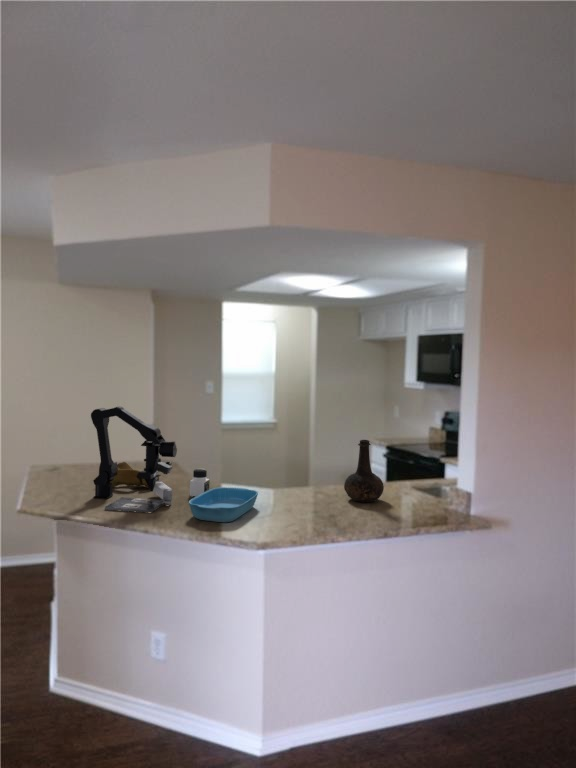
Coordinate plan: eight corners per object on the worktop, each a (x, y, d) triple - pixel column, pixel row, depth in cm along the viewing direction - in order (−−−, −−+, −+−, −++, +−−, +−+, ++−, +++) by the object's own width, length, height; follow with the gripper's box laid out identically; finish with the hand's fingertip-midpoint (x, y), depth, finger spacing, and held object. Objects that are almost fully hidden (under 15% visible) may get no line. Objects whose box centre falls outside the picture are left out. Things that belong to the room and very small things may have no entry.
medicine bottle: (204, 497, 250) (204, 471, 250) (189, 496, 251) (189, 470, 251) (209, 493, 257) (209, 468, 257) (194, 492, 258) (195, 467, 258)
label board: (104, 509, 226) (104, 504, 226) (121, 500, 242) (121, 495, 241) (159, 513, 223) (159, 508, 222) (173, 503, 238) (173, 498, 238)
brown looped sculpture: (129, 465, 281) (162, 463, 270) (126, 490, 277) (159, 489, 266) (101, 458, 266) (134, 456, 255) (97, 486, 262) (131, 484, 251)
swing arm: (173, 500, 235) (173, 490, 235) (164, 501, 233) (164, 491, 233) (160, 489, 252) (160, 480, 252) (151, 490, 250) (151, 481, 250)
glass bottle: (390, 500, 256) (392, 440, 254) (368, 507, 243) (371, 444, 241) (358, 493, 268) (360, 436, 266) (336, 499, 255) (338, 439, 253)
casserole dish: (216, 499, 249) (217, 483, 248) (263, 504, 243) (264, 488, 243) (179, 522, 213) (179, 504, 213) (233, 529, 207) (233, 510, 207)
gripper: (161, 460, 232) (160, 497, 233) (177, 454, 251) (176, 488, 251) (136, 459, 234) (136, 495, 234) (154, 453, 253) (153, 486, 253)
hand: (151, 491), depth 243 cm, fingers closed
